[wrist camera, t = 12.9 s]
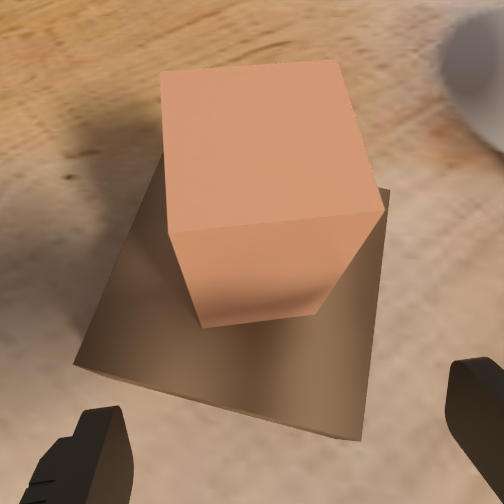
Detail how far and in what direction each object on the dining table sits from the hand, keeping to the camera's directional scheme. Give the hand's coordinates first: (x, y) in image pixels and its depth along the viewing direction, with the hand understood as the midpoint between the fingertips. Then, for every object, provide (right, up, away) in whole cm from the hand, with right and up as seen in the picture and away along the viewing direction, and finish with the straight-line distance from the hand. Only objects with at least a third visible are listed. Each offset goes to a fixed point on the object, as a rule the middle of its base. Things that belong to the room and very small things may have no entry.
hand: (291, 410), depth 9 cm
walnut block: (-1, +1, +13) cm, 13 cm away
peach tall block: (-1, +3, +9) cm, 9 cm away
